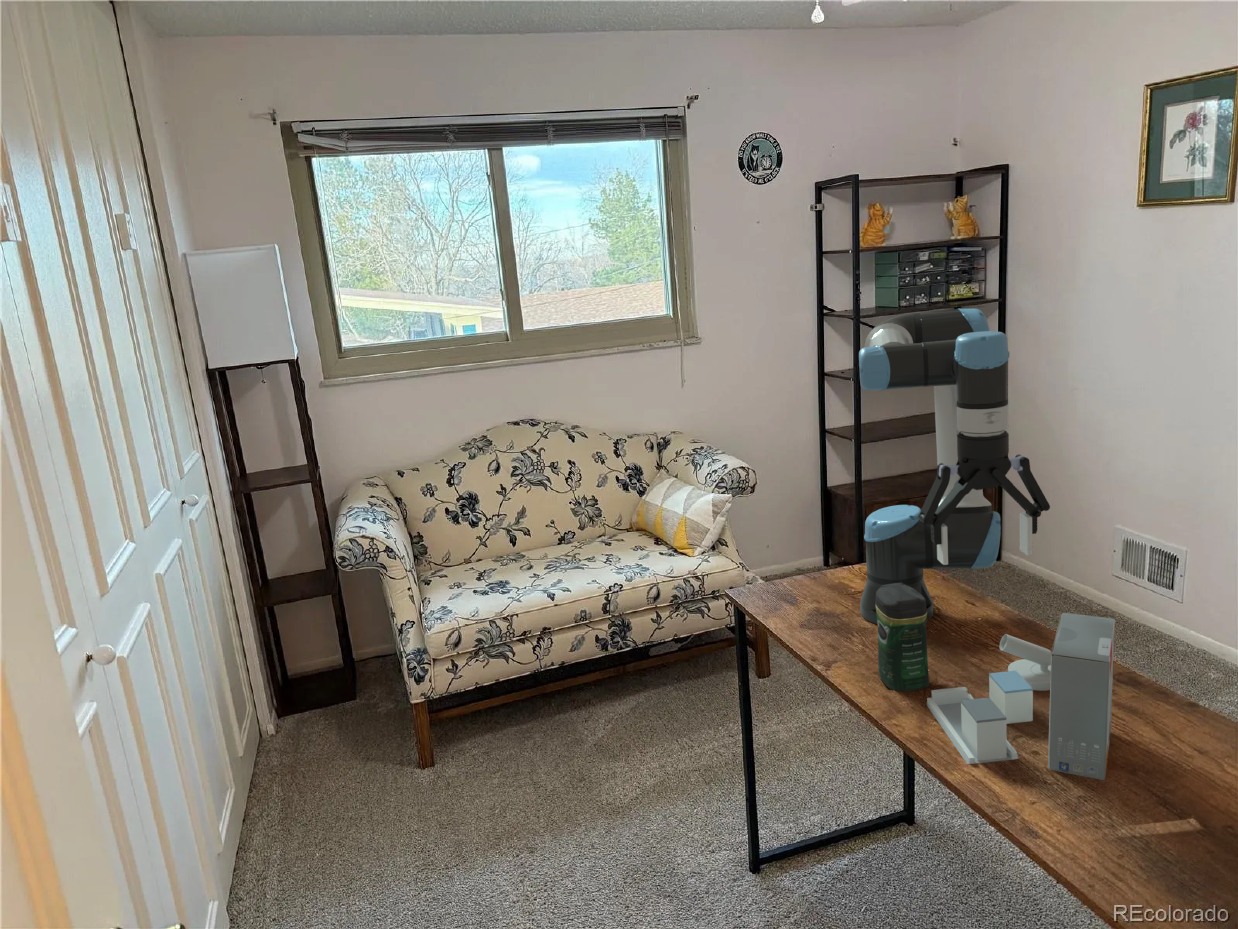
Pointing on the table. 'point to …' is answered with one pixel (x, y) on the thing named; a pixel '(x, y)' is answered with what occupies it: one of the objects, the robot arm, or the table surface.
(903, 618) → the coffee jar
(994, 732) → the block
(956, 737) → the rail
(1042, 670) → the wall hook
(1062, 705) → the hard drive box
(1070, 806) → the table surface
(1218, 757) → the table surface
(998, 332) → the robot arm
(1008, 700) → the module
